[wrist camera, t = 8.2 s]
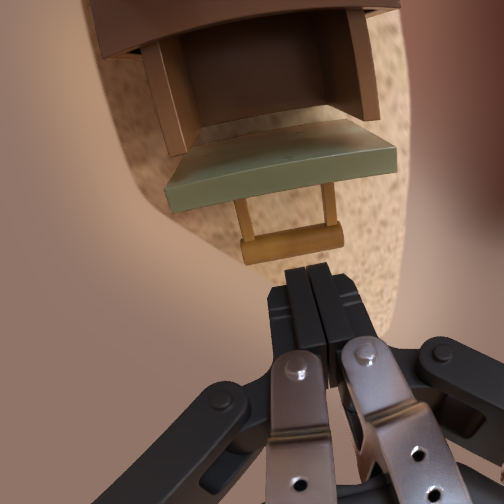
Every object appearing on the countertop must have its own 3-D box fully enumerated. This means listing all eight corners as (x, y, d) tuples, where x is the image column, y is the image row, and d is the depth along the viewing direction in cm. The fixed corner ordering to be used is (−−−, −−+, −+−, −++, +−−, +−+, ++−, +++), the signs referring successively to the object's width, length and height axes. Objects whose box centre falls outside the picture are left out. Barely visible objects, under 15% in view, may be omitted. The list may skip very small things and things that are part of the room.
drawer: (354, 205, 21) (395, 264, 15) (212, 232, 22) (203, 301, 16) (311, -51, 12) (346, -99, 6) (146, -21, 13) (101, -57, 7)
